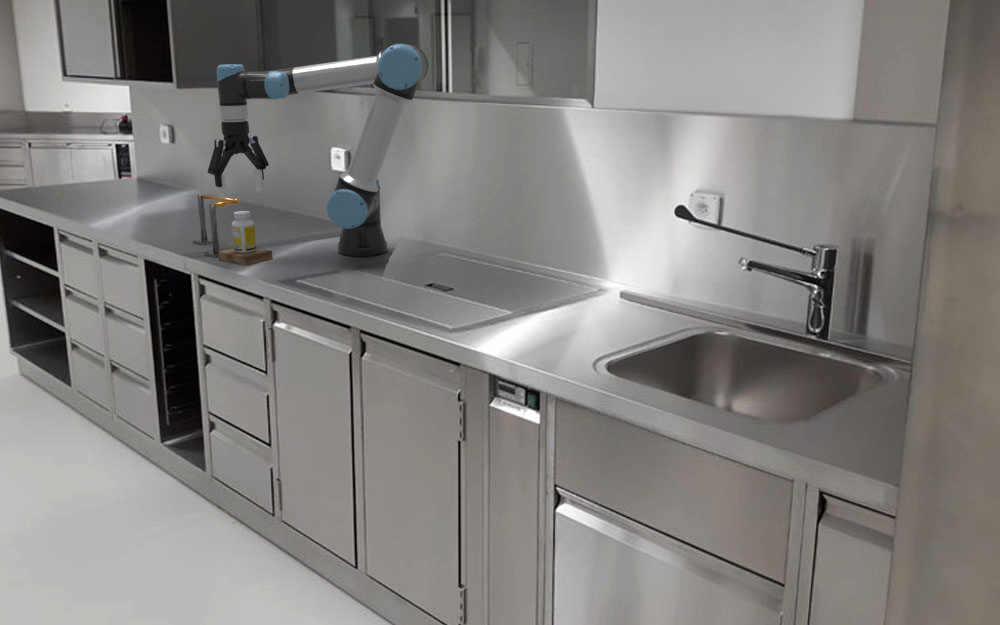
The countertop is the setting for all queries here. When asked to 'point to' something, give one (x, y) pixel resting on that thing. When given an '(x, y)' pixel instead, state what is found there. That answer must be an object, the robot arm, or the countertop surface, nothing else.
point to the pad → (245, 256)
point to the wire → (213, 221)
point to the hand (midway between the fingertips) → (241, 194)
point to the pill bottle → (243, 232)
